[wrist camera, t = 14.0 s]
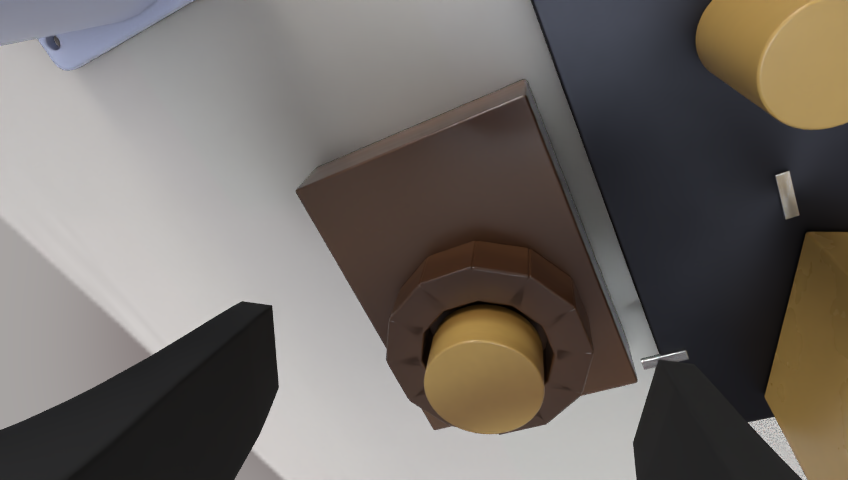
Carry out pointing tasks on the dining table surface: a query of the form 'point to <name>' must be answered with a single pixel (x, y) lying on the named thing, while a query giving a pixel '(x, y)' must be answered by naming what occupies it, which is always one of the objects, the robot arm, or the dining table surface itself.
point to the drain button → (485, 370)
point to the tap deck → (695, 184)
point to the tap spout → (781, 56)
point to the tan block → (815, 360)
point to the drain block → (471, 244)
